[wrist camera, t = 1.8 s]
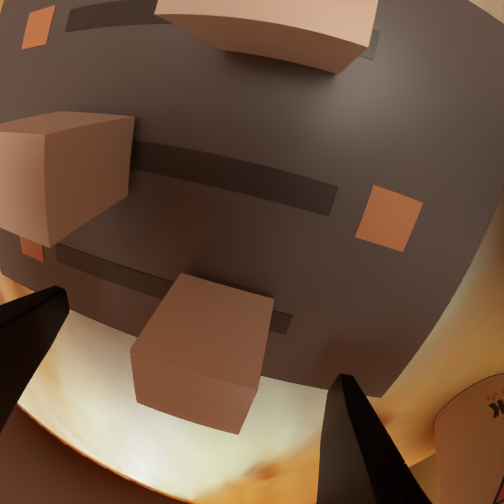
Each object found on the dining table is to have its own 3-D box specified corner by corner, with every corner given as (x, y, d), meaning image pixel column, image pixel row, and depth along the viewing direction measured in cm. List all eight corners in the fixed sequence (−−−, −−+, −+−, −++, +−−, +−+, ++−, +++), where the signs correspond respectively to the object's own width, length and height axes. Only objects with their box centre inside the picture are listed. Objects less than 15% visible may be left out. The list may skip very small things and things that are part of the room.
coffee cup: (544, 366, 13) (590, 486, 2) (477, 436, 17) (495, 543, 7) (476, 359, 13) (526, 536, 3) (400, 438, 18) (407, 575, 7)
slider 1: (135, 116, 7) (45, 134, 4) (127, 195, 8) (50, 248, 5) (60, 111, 7) (-25, 131, 4) (58, 180, 9) (-19, 219, 6)
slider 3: (274, 298, 9) (257, 390, 6) (257, 350, 10) (238, 434, 7) (180, 272, 9) (130, 349, 6) (176, 327, 11) (136, 402, 7)
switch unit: (489, 53, 7) (533, 46, 4) (373, 351, 14) (381, 399, 11) (50, -9, 8) (8, -16, 5) (34, 249, 15) (1, 274, 12)
